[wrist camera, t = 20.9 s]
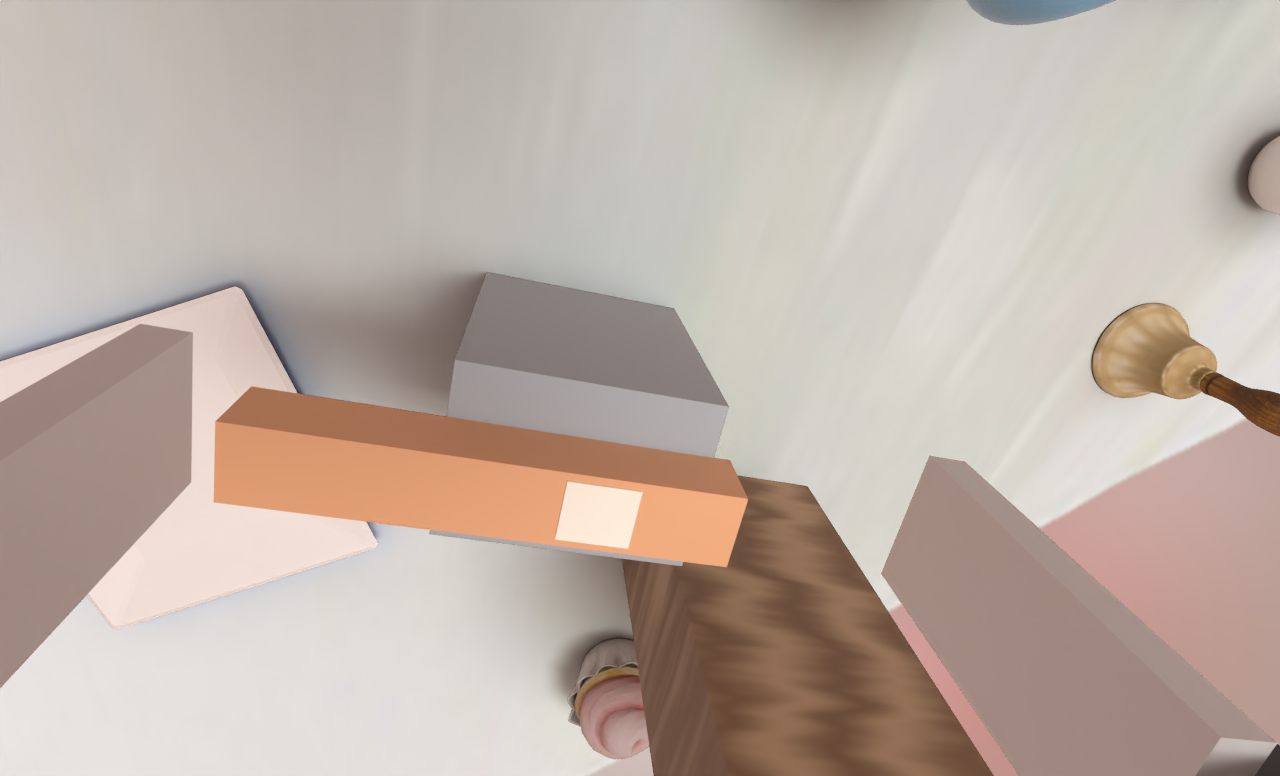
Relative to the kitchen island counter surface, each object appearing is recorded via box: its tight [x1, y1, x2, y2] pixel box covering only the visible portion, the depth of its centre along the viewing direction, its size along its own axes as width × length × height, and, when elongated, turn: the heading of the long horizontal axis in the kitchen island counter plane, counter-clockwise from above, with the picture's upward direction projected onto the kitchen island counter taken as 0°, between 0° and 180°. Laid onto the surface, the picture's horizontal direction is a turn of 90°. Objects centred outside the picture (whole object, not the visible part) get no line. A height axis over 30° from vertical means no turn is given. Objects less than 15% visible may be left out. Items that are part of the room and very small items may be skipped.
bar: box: [214, 386, 748, 567], centre depth 35 cm, size 24×4×4 cm, turn 77°
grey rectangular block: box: [429, 272, 729, 566], centre depth 47 cm, size 14×10×18 cm
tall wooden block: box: [623, 476, 994, 776], centre depth 49 cm, size 14×10×30 cm
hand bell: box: [1092, 303, 1280, 436], centre depth 53 cm, size 8×8×16 cm
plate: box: [0, 286, 378, 629], centre depth 54 cm, size 22×22×2 cm
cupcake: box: [567, 639, 649, 759], centre depth 62 cm, size 9×9×10 cm
